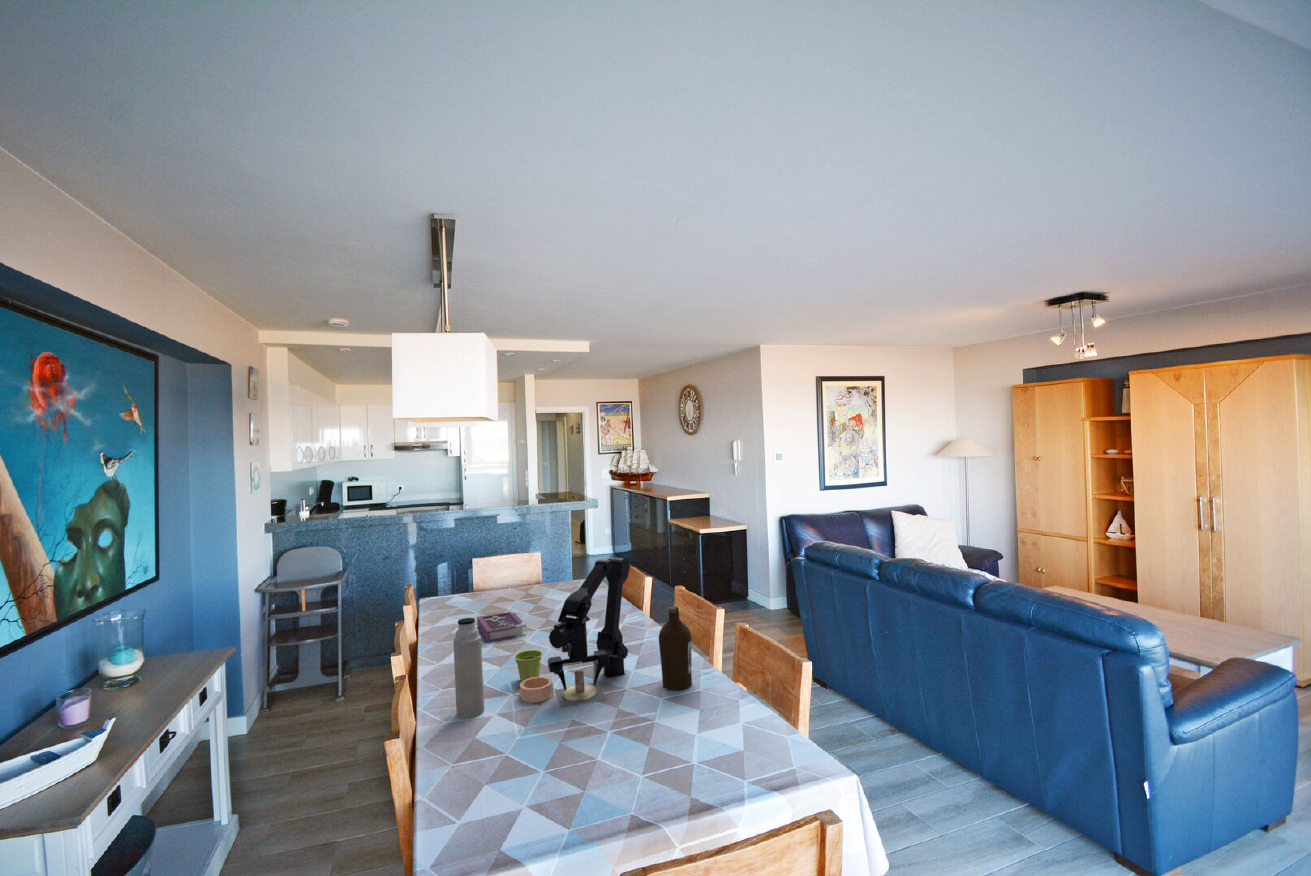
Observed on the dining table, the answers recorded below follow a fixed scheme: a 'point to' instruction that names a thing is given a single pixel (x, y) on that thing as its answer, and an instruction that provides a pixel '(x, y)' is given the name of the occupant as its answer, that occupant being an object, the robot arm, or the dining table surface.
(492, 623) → the book
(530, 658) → the plant pot
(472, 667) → the thermos bottle
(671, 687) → the olive oil
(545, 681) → the bowl
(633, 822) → the dining table surface
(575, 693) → the lid
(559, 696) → the mat
